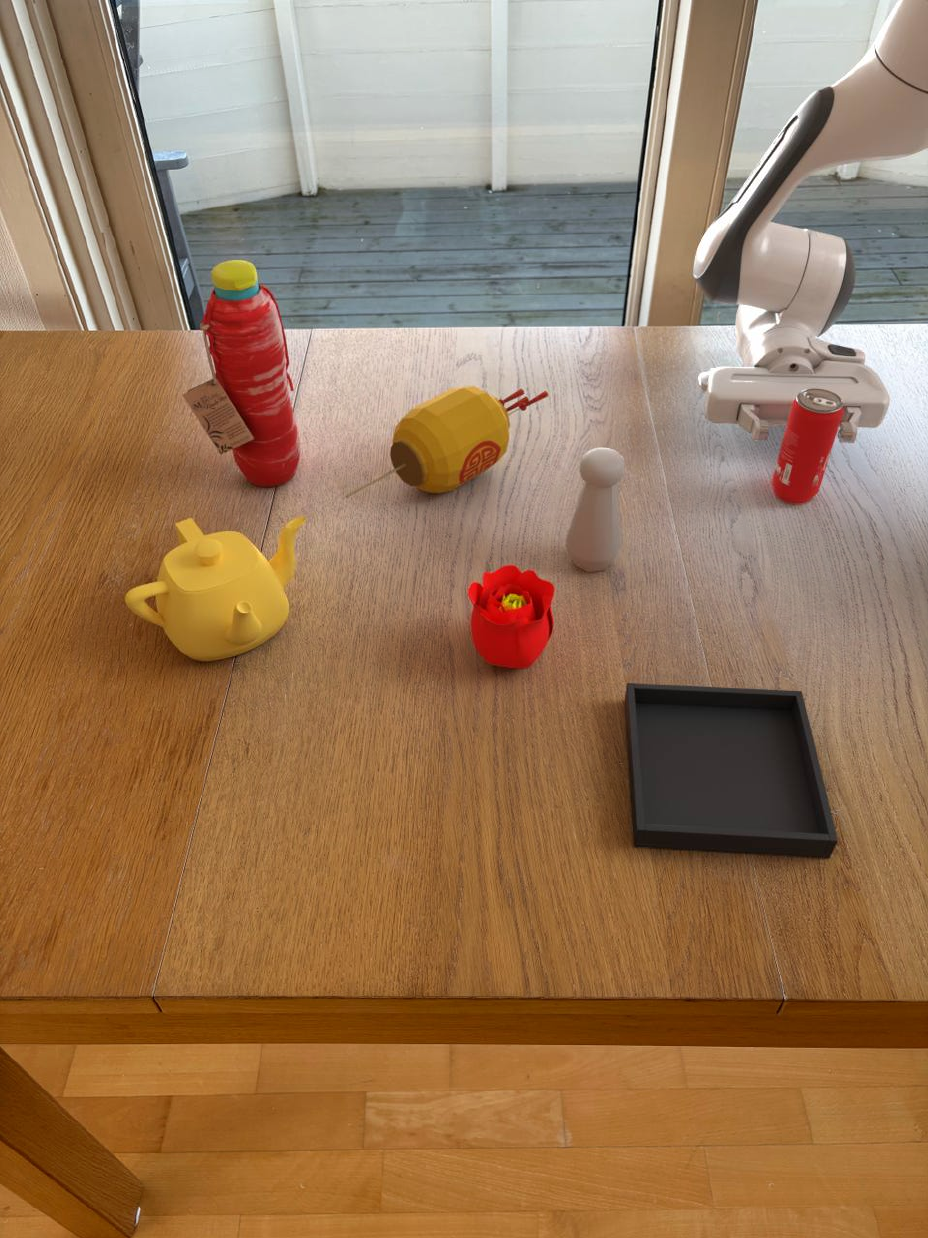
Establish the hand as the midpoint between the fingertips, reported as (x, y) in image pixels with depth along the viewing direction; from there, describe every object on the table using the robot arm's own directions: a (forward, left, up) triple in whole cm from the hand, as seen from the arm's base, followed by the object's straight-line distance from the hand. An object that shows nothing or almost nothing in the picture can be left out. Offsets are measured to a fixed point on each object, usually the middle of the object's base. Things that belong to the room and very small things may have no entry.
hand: (805, 436), depth 104 cm
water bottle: (+61, +3, -7) cm, 62 cm away
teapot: (+58, +27, -7) cm, 64 cm away
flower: (+31, +29, -7) cm, 43 cm away
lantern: (+39, +1, -7) cm, 40 cm away
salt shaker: (+23, +15, -7) cm, 28 cm away
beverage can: (0, +2, -7) cm, 7 cm away
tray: (+13, +42, -6) cm, 44 cm away
